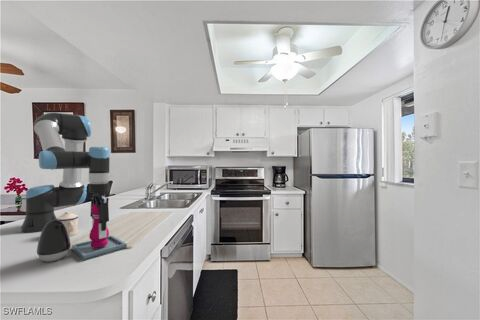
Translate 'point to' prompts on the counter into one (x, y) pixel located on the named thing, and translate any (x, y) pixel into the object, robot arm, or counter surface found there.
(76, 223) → the teacup with lid
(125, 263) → the counter surface
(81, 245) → the tray
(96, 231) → the pepper mill
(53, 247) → the black rounded piece
